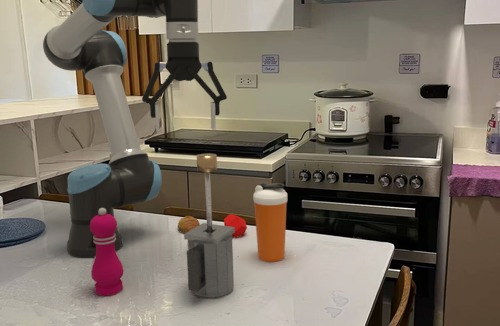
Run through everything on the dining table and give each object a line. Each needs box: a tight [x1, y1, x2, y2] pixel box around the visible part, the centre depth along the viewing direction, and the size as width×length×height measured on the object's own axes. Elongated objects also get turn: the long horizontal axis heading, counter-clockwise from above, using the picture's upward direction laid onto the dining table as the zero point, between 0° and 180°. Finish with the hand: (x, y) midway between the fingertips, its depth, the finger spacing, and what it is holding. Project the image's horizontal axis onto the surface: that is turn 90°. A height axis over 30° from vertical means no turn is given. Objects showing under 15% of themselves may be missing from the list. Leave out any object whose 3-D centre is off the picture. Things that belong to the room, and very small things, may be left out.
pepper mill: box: [90, 208, 124, 297], centre depth 121 cm, size 7×7×20 cm
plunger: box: [196, 153, 218, 233], centre depth 118 cm, size 7×7×20 cm
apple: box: [223, 213, 248, 238], centre depth 158 cm, size 7×7×8 cm
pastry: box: [177, 215, 201, 235], centre depth 162 cm, size 9×7×4 cm
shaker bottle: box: [252, 181, 288, 263], centre depth 138 cm, size 9×9×20 cm
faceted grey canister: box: [183, 222, 235, 300], centre depth 119 cm, size 10×13×14 cm
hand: (185, 130), depth 129 cm, fingers open, 13 cm apart
